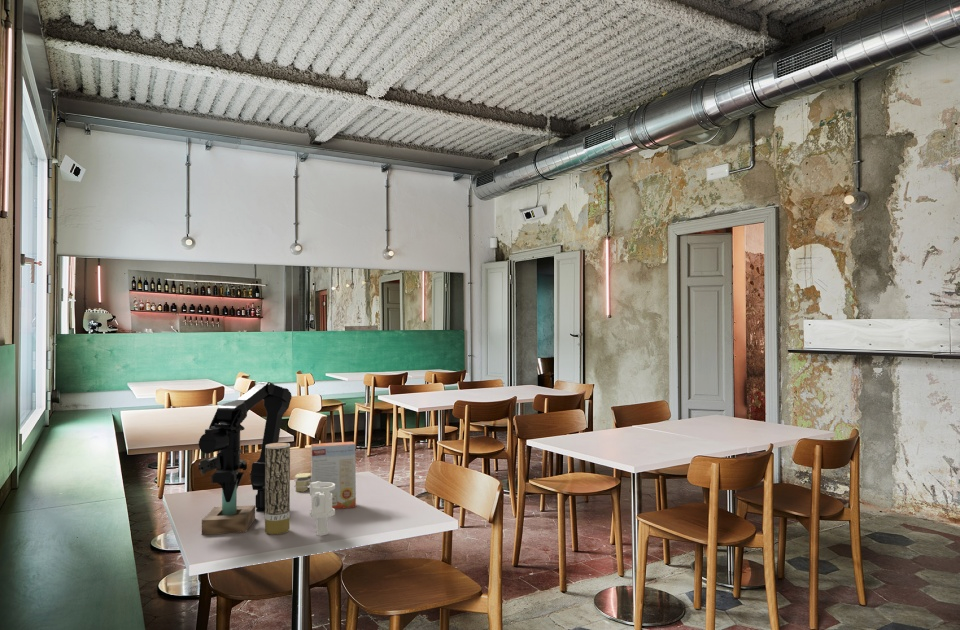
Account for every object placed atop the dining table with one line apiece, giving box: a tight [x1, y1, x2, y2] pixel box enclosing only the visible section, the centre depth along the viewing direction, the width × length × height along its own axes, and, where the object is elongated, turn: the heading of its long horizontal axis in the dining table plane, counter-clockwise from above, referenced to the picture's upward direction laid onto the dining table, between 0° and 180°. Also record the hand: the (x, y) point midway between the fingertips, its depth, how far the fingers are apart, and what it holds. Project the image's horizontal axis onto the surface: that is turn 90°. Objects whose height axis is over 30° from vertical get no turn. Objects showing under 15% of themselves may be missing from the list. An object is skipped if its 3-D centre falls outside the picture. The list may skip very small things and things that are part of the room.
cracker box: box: [310, 441, 357, 510], centre depth 212 cm, size 14×6×21 cm, turn 108°
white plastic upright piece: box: [309, 481, 336, 536], centre depth 184 cm, size 7×7×15 cm
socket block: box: [201, 504, 256, 535], centre depth 192 cm, size 12×14×4 cm
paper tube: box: [264, 442, 291, 536], centre depth 186 cm, size 7×7×25 cm
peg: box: [221, 484, 238, 515], centre depth 192 cm, size 4×4×10 cm
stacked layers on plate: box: [294, 472, 311, 492], centre depth 237 cm, size 10×9×6 cm
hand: (229, 500), depth 192 cm, fingers closed on peg, 4 cm apart
